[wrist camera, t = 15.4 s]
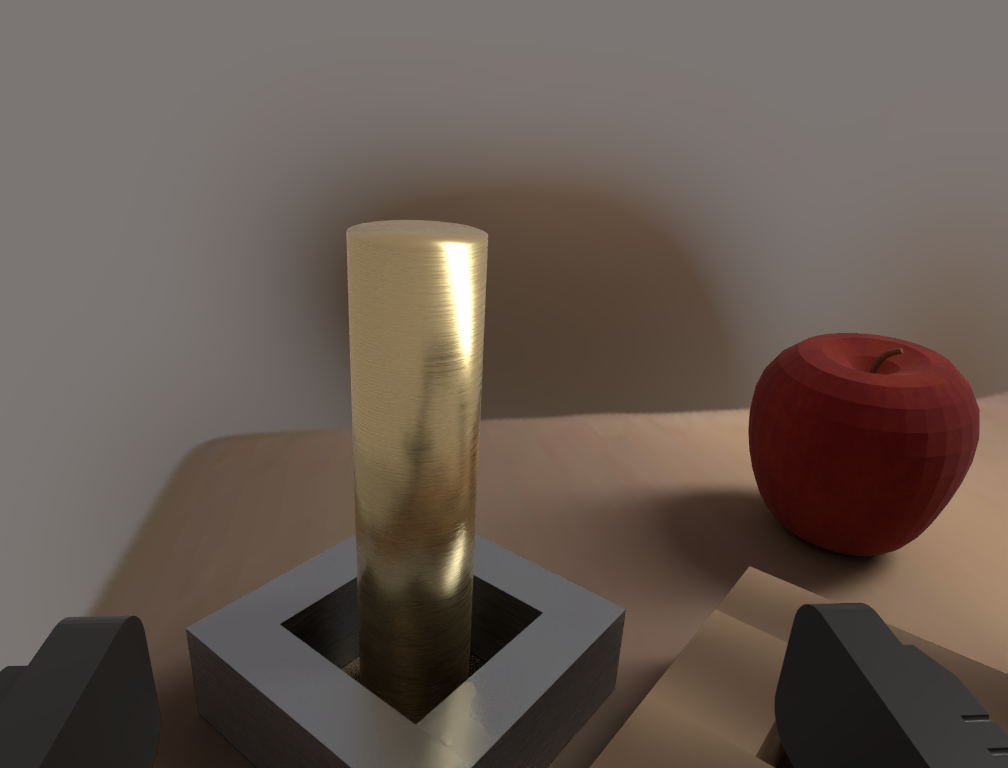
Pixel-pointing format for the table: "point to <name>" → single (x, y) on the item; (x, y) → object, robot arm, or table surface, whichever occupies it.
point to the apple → (860, 440)
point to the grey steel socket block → (369, 720)
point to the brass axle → (415, 451)
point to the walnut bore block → (748, 686)
